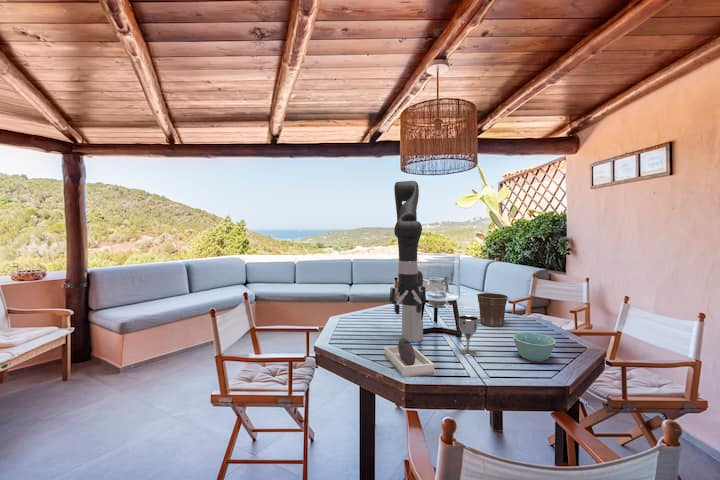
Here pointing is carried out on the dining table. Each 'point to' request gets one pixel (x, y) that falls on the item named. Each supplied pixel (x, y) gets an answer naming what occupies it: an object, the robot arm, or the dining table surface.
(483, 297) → the plant pot
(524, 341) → the bowl
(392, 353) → the tray
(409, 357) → the perforated stone tool
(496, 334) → the dining table surface
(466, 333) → the wine glass
